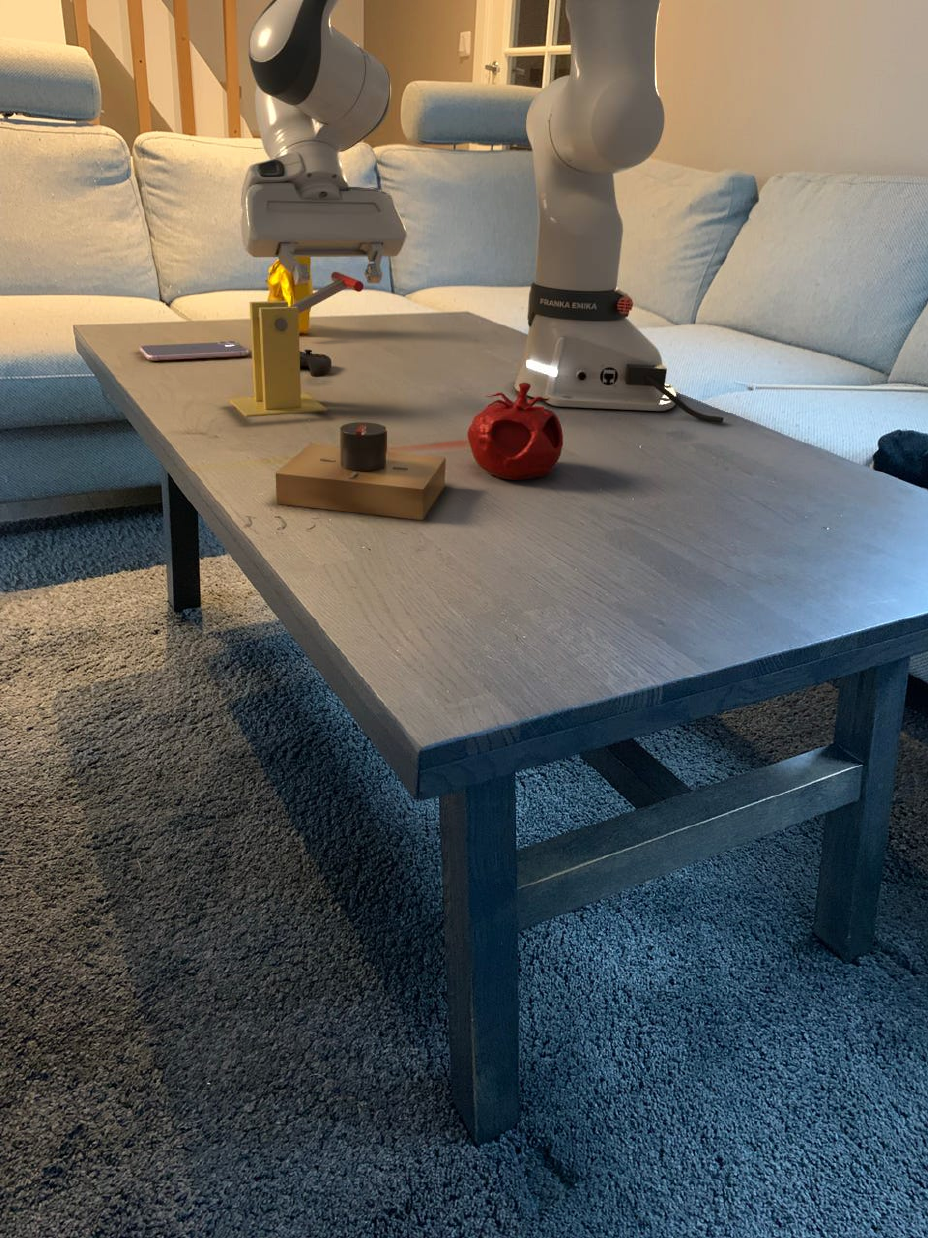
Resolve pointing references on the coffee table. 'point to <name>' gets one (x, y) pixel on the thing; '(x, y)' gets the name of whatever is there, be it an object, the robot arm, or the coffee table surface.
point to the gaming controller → (315, 363)
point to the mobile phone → (193, 351)
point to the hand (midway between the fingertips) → (339, 280)
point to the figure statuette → (290, 289)
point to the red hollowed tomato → (516, 437)
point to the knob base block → (361, 483)
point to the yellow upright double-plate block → (275, 363)
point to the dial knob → (363, 446)
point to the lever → (328, 291)
